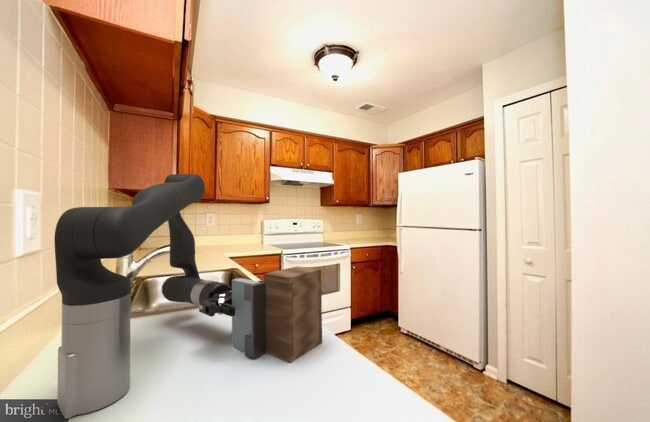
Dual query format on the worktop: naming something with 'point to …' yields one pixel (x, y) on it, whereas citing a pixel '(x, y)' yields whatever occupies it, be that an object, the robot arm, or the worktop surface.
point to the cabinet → (293, 312)
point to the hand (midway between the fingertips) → (249, 306)
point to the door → (241, 313)
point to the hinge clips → (256, 320)
